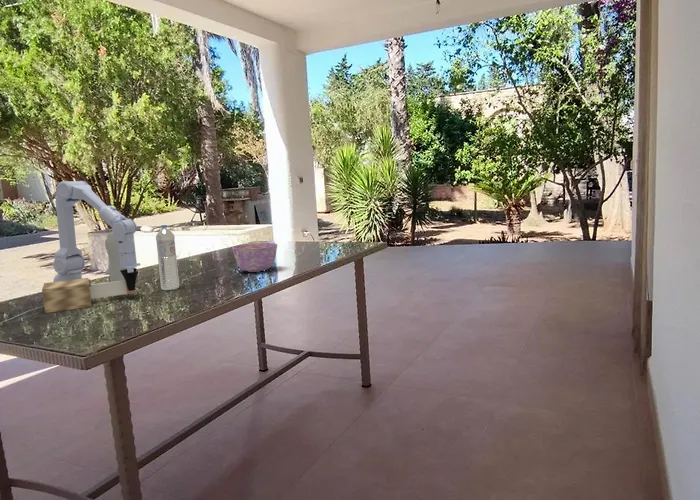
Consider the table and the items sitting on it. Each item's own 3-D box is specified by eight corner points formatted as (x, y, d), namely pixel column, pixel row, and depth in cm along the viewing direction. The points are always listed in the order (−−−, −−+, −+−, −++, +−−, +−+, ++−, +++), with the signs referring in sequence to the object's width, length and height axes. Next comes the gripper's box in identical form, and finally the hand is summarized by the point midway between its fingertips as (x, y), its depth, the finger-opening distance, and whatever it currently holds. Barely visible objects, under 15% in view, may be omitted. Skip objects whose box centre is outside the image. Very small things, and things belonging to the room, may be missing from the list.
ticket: (77, 300, 184) (76, 286, 183) (77, 300, 185) (76, 286, 184) (135, 292, 192) (134, 279, 191) (135, 292, 193) (134, 278, 193)
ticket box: (45, 313, 174) (41, 289, 173) (47, 305, 186) (44, 283, 185) (93, 306, 180) (90, 283, 179) (92, 298, 193) (90, 277, 192)
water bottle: (169, 291, 199) (162, 226, 196) (157, 290, 203) (150, 226, 200) (183, 287, 205) (177, 224, 202) (171, 286, 209) (165, 224, 205)
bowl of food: (226, 276, 226) (224, 249, 225) (243, 268, 246) (241, 243, 244) (271, 275, 223) (269, 248, 221) (284, 267, 242) (282, 242, 241)
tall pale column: (135, 280, 226) (130, 230, 223) (130, 282, 222) (125, 231, 219) (112, 281, 227) (106, 231, 224) (107, 283, 223) (101, 232, 220)
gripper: (140, 253, 186) (145, 290, 187) (136, 249, 198) (140, 284, 200) (119, 255, 182) (123, 293, 184) (116, 251, 195) (120, 287, 197)
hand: (131, 289), depth 192 cm, fingers open, 4 cm apart
